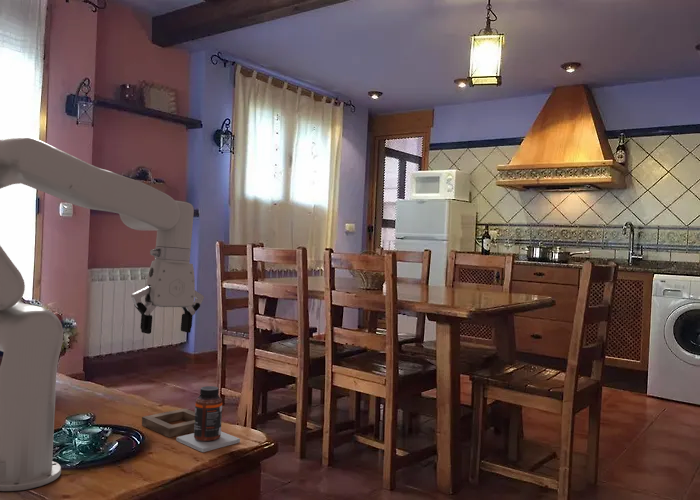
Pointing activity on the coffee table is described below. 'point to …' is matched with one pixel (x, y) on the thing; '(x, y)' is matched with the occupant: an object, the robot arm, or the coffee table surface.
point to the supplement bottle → (208, 414)
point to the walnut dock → (161, 421)
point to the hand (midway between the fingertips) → (166, 332)
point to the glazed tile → (207, 442)
